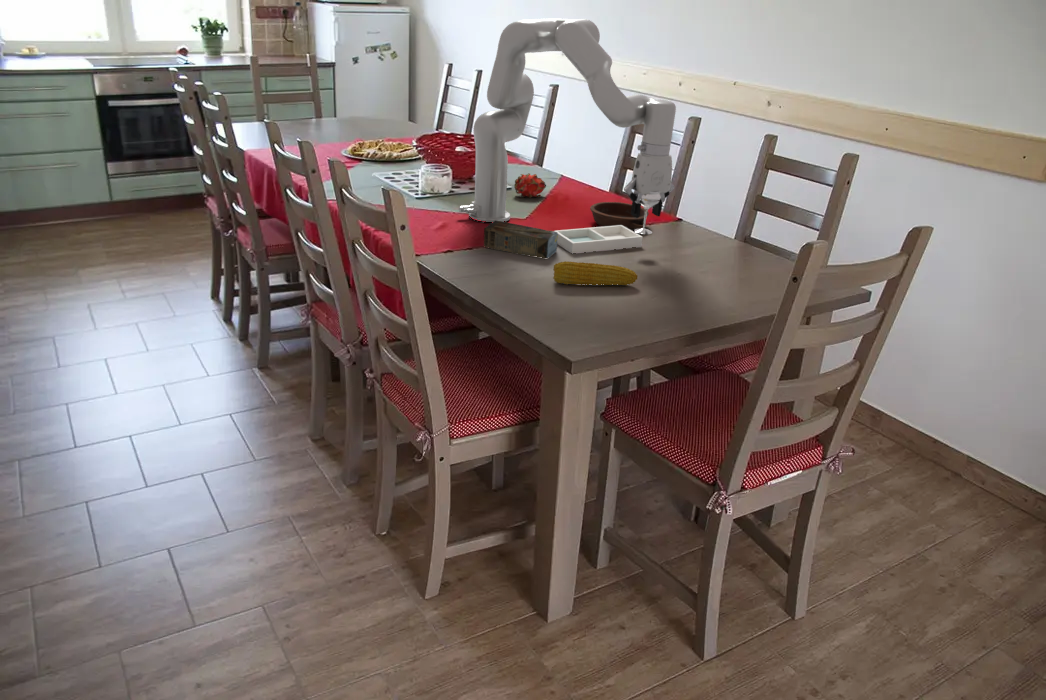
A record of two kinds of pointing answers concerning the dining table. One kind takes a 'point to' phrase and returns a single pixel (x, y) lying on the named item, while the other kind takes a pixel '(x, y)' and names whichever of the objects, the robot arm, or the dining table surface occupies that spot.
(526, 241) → the beverage carton
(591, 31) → the robot arm
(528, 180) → the dragon fruit
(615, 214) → the dish
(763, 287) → the dining table surface
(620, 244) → the white divided tray
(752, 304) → the dining table surface
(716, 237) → the dining table surface
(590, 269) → the food
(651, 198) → the wineglass
